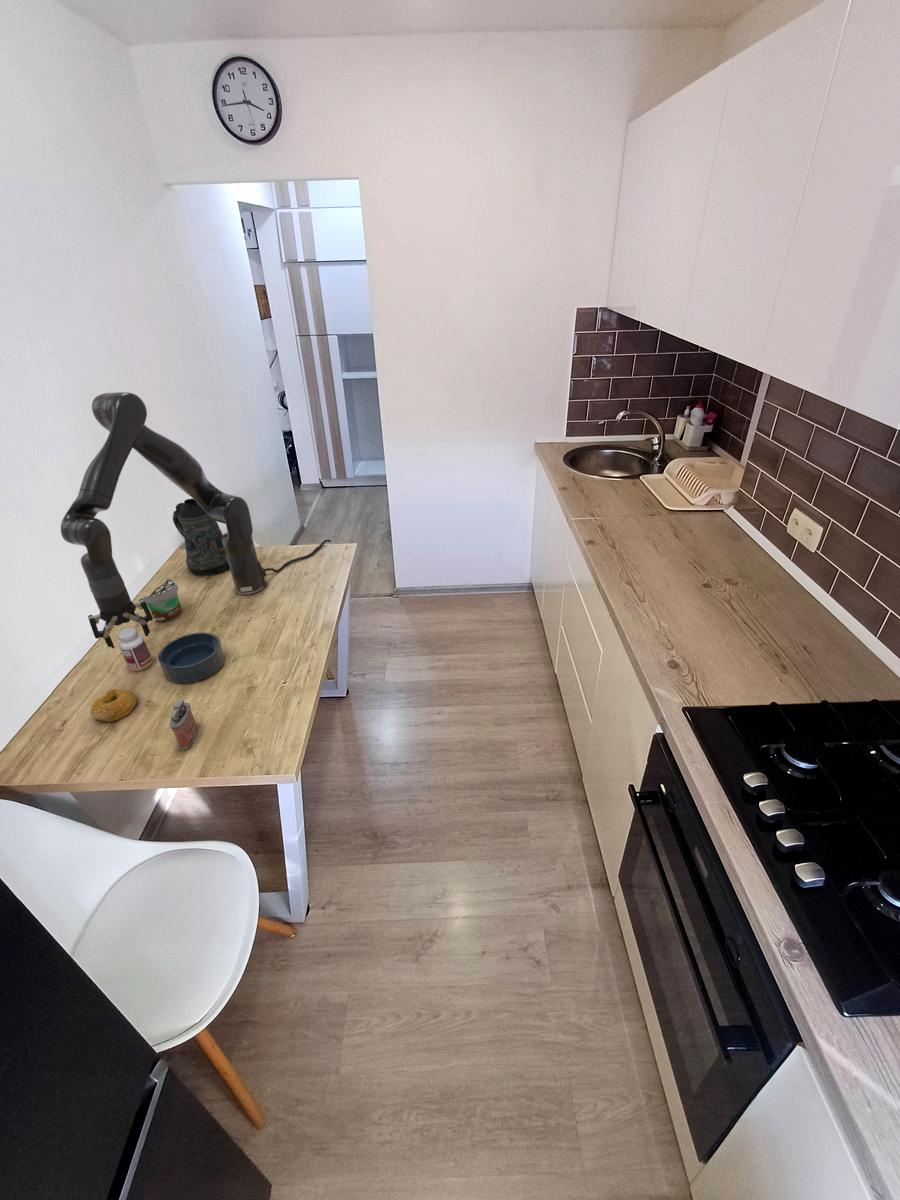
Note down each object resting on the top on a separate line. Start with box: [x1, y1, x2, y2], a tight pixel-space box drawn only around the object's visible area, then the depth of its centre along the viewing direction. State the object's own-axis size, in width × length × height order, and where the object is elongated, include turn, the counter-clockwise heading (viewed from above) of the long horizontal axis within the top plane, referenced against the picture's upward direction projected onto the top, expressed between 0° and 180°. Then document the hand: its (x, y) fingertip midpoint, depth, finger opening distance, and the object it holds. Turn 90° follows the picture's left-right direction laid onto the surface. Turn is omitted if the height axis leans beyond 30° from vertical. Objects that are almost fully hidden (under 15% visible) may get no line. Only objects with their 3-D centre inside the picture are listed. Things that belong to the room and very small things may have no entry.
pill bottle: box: [117, 627, 153, 672], centre depth 157 cm, size 6×6×11 cm
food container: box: [143, 577, 182, 623], centre depth 178 cm, size 12×6×10 cm, turn 168°
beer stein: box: [172, 498, 230, 577], centre depth 202 cm, size 16×19×25 cm
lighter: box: [169, 698, 200, 752], centre depth 132 cm, size 8×3×10 cm, turn 5°
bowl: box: [157, 631, 226, 684], centre depth 156 cm, size 16×16×6 cm
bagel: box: [90, 688, 138, 723], centre depth 143 cm, size 10×11×5 cm
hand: (130, 640), depth 155 cm, fingers open, 8 cm apart
